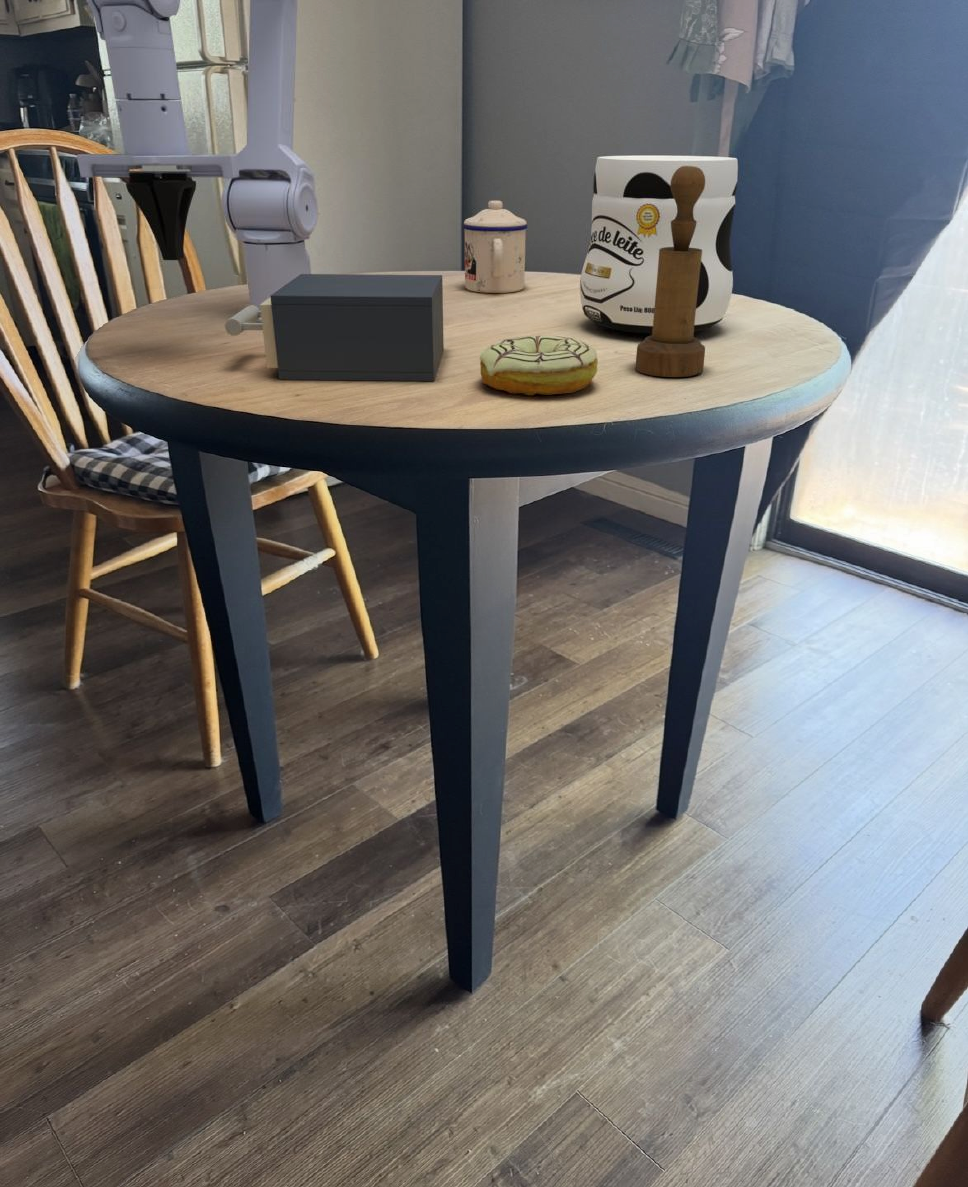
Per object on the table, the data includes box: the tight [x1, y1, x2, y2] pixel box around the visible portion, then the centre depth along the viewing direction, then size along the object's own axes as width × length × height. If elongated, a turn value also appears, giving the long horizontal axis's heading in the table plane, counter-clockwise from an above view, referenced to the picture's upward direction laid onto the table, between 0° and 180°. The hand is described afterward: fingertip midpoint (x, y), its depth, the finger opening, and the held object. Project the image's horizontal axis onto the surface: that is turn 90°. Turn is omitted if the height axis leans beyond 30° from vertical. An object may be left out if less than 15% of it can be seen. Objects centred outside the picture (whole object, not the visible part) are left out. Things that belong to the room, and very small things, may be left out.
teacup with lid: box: [462, 200, 528, 294], centre depth 123 cm, size 12×9×12 cm
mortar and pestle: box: [635, 166, 706, 378], centre depth 82 cm, size 7×6×18 cm
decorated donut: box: [479, 335, 599, 396], centre depth 80 cm, size 10×11×4 cm
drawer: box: [224, 298, 278, 369], centre depth 86 cm, size 18×11×6 cm, turn 88°
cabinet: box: [270, 273, 445, 382], centre depth 86 cm, size 15×13×8 cm
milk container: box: [579, 154, 739, 335], centre depth 99 cm, size 17×17×18 cm
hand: (173, 259), depth 86 cm, fingers closed
